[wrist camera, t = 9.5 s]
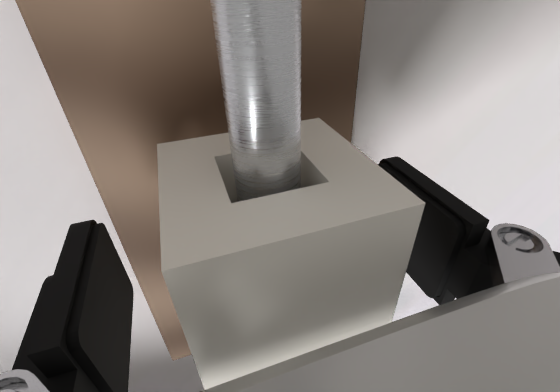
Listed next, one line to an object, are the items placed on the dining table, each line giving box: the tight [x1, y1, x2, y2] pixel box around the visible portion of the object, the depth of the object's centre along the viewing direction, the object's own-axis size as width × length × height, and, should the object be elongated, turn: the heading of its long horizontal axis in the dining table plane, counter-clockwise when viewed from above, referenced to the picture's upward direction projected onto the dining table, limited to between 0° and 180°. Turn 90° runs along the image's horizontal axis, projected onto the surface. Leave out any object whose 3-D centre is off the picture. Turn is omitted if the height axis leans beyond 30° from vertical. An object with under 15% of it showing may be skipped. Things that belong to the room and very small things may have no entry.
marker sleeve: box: [157, 118, 425, 390], centre depth 9 cm, size 6×5×5 cm
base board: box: [15, 0, 366, 361], centre depth 11 cm, size 30×10×2 cm, turn 2°
